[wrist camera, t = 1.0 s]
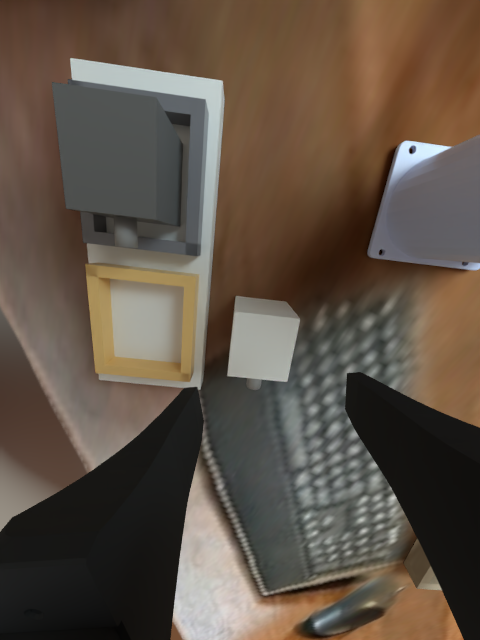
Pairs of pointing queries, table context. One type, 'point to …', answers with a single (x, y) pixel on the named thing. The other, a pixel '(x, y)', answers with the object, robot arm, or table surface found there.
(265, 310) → the plug
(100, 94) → the twin plug
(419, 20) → the table surface
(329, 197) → the table surface
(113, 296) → the white base platform
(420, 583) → the desk tray
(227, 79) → the table surface
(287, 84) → the table surface
